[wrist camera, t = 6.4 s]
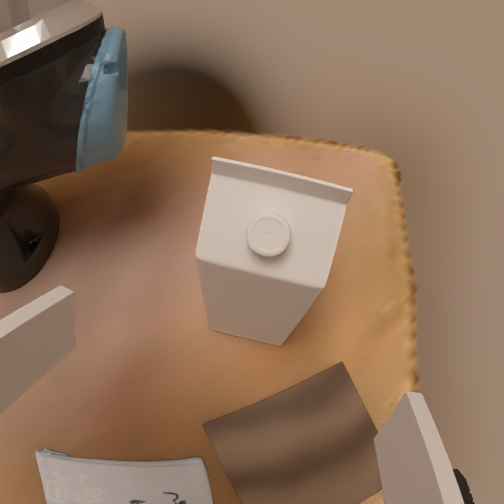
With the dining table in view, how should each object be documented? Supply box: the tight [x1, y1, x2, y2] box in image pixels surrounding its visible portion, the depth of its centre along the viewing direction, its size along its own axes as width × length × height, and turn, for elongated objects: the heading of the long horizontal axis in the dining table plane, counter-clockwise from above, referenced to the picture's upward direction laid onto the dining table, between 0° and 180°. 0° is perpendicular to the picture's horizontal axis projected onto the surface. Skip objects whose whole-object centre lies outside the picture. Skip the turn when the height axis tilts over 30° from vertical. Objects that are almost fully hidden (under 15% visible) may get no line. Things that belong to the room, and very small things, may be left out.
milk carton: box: [195, 157, 353, 346], centre depth 23 cm, size 7×7×19 cm
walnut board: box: [203, 362, 382, 504], centre depth 24 cm, size 14×14×2 cm
